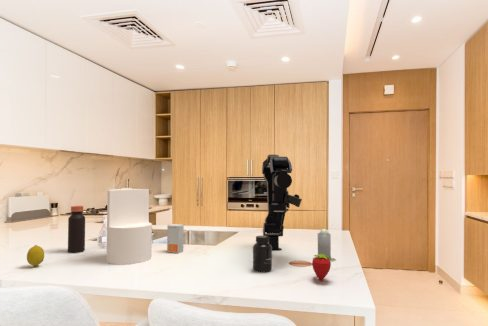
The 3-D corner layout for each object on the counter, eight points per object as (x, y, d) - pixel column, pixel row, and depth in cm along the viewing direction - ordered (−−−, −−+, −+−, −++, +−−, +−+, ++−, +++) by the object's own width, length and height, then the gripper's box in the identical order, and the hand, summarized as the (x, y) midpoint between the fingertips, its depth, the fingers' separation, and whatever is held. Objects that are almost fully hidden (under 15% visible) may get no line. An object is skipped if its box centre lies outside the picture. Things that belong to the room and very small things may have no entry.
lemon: (25, 269, 121) (26, 247, 121) (27, 265, 126) (27, 244, 126) (43, 267, 124) (44, 245, 124) (44, 264, 129) (45, 243, 129)
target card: (278, 261, 133) (278, 259, 133) (327, 257, 140) (327, 255, 140) (292, 269, 121) (292, 267, 121) (345, 264, 128) (345, 263, 128)
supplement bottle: (270, 273, 116) (270, 238, 117) (251, 272, 118) (251, 237, 118) (273, 268, 123) (272, 235, 124) (254, 267, 125) (254, 234, 125)
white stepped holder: (98, 259, 136) (99, 189, 137) (137, 252, 149) (138, 188, 150) (119, 267, 124) (120, 191, 125) (159, 258, 137) (160, 189, 138)
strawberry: (330, 277, 112) (329, 247, 112) (331, 285, 104) (331, 252, 104) (311, 276, 113) (311, 246, 113) (312, 284, 105) (312, 251, 106)
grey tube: (315, 258, 135) (315, 228, 136) (326, 257, 137) (326, 227, 137) (321, 261, 130) (321, 230, 131) (333, 260, 132) (332, 229, 132)
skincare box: (166, 252, 148) (166, 225, 148) (172, 250, 152) (172, 223, 152) (178, 253, 146) (178, 225, 146) (183, 251, 150) (183, 224, 150)
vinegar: (87, 249, 153) (88, 205, 154) (79, 253, 146) (79, 207, 147) (73, 249, 154) (74, 205, 154) (64, 253, 147) (65, 207, 147)
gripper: (299, 188, 123) (299, 231, 122) (301, 187, 141) (301, 225, 140) (268, 188, 125) (269, 230, 124) (275, 187, 143) (275, 224, 142)
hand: (280, 227), depth 133 cm, fingers open, 9 cm apart
